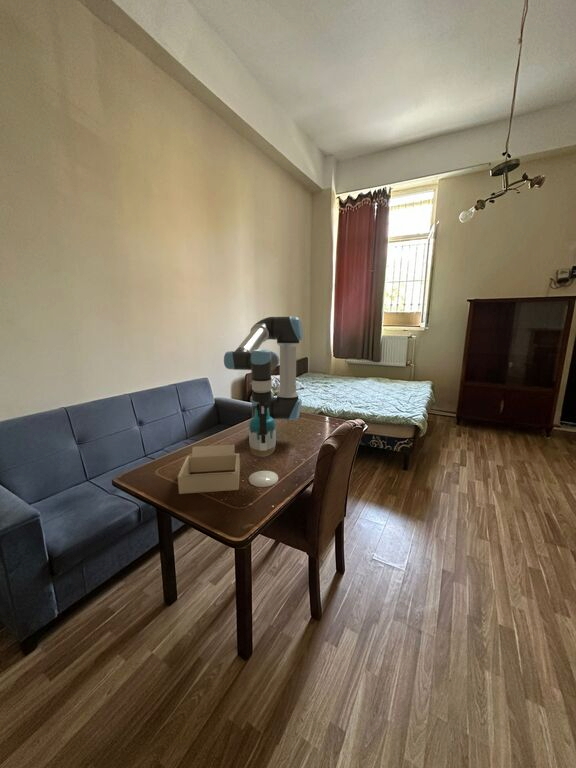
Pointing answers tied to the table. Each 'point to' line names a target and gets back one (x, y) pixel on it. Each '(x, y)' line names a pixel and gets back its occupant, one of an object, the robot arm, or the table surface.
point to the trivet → (263, 478)
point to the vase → (255, 438)
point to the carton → (210, 461)
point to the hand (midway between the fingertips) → (262, 444)
